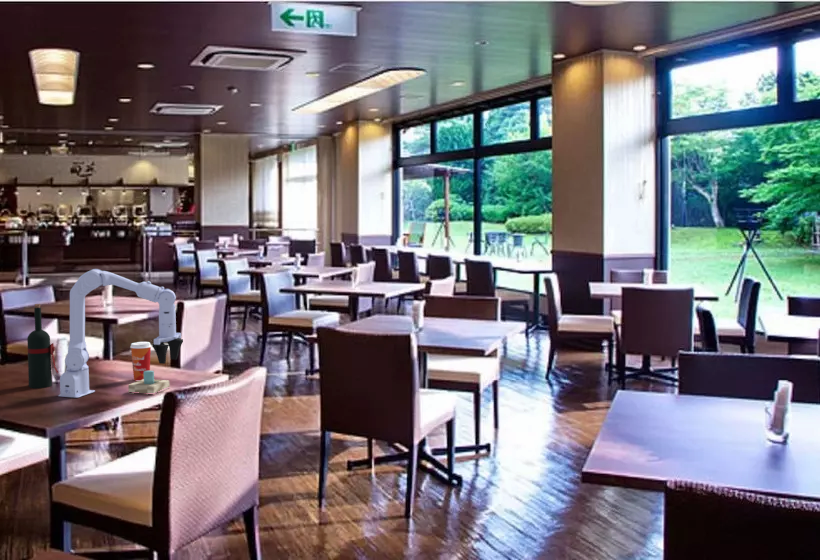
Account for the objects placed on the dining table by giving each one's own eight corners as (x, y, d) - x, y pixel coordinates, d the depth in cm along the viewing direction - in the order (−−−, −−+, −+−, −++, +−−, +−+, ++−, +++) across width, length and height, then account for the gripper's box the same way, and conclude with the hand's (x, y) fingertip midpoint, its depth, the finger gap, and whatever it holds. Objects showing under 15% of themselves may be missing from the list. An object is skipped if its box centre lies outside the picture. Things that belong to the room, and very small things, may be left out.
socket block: (153, 394, 274) (153, 386, 274) (128, 393, 277) (128, 384, 277) (169, 388, 284) (169, 380, 284) (145, 386, 286) (144, 378, 286)
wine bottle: (56, 387, 284) (53, 305, 281) (26, 388, 282) (22, 305, 279) (61, 382, 292) (58, 302, 289) (31, 384, 290) (28, 303, 287)
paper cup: (126, 380, 297) (125, 343, 295) (142, 376, 303) (141, 340, 302) (141, 382, 293) (140, 345, 292) (157, 378, 300) (156, 342, 298)
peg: (150, 392, 278) (150, 372, 278) (142, 391, 279) (141, 372, 278) (156, 390, 282) (155, 370, 281) (147, 389, 282) (147, 370, 282)
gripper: (166, 327, 271) (166, 365, 273) (188, 321, 285) (189, 358, 287) (148, 326, 273) (149, 364, 275) (171, 320, 287) (171, 357, 288)
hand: (168, 361), depth 281 cm, fingers open, 7 cm apart
